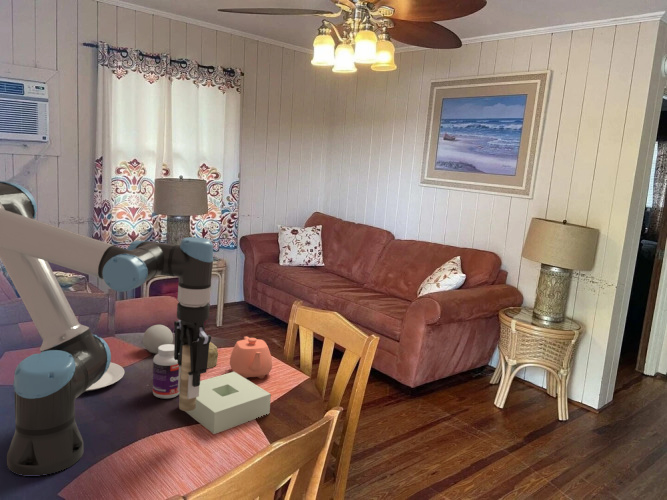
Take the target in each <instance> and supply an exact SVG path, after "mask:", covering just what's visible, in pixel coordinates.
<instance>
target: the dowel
mask: <svg viewBox="0 0 667 500" xmlns="http://www.w3.org/2000/svg"><path fill="white" fill-rule="evenodd" d="M188 372H191V360H190V346H188V344H186V345H183V348H182V365H181V382H180V399H179V402H178V405H179V406H178V409H179V410H180V411H184V412H185V411H191V410H194V409H195V408H196V397H195V398H191V399H188V398H187V394H188V378H189V374H188Z"/></svg>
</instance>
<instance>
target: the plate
mask: <svg viewBox="0 0 667 500" xmlns="http://www.w3.org/2000/svg"><path fill="white" fill-rule="evenodd" d="M124 375H125V369H124V368H123V366H121V365H120V364H117V363H115V362H112V361H111V362H110V365H109V368H108V370H107V371H106V372H105V374H104V375H103V376H102V377H101V379H99V380H98V381H97V382H96V383H94V384H92V385H91V386H90V387H89V388H88V389H87V390H85V391H84V392H89V391H95V390H99V389H102V388H105V387H107V386H110V385H113V384H115V383H116V382H119V381H120V380H121V379H122V378H123V377H124Z"/></svg>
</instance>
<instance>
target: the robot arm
mask: <svg viewBox="0 0 667 500" xmlns="http://www.w3.org/2000/svg"><path fill="white" fill-rule="evenodd" d="M37 212H38V206H37V202H36V199H35V198H34V196H33V194H31V192H30V191H29V190H28V189H26V188H25V187H24V186H22V185H20V184H18V183H15V182H9V181H0V261H1V262H2V264H3V266H4V268H5V270H6V272H7V274H8V276H9V278H10V279H11V281H12V284H13V285H14V287H15V289H16V291H17V293H18V295H19V297H20V299H21V300H22V302H23V304H24V306H25V308H26V310H27V312H28V314H29V316H30V318H31V319H32V321H33V324H34V326H35V327H36V330H37V331H38V333H39V335H40V338H41V339H42V342H41V343H42V344H41V345H40V348H39V351H40V353H33V354H31V355H29V356H27V357H25V358H24V359H22V360H21V361H20V362H19V363H18V364H17V366H16V367H15V370H14V378H13V383H12V384H13V385H12V386H13V391H14V392H13V393H14V417H15V418H14V419H15V421H14V422H15V431H14V435H13V436H12V440H11V442H10V445H9V448H8V450H7V454H6V466H8V467H7V469H8V468H9V469H10V470H11V471H13V472H15V473H17V474H22V475H43V474H50V473H54V472H57V473H59V472H58V471H60V472H62V471H64V469H65V470H67V469H68V468H70V467H72V466H74V465H75V464H76V463H77V462H79V460H81V458H82V457H83V455H84V440H83V437H82V434H81V432H80V430H79V427H78V425H77V422H76V418H75V417H76V403H75V402H76V399H77V398H79V396H81V395H83V393H85V392H86V391H85V390H87V389H88V388H89V387H90V386H91V385H92V384H94V383H96V382H97V381H98V380H99V379H101V377H102V376H103V375H104V374H105V372H106V371H107V370H108V368H109V365H110V362H112V361H111V360H112V354H111V349H110V346H109V345H108V343H107V342H106V341H105V339H103V337H99V336H98V334H93V333H92V331H91V329H90V327H89V326H86V325H83V324H81V323H80V322H79V320H78V319H77V317H76V314H75V313H74V311H73V309H72V306H71V305H70V303H69V301H68V299H67V297H66V294H65V293H64V291H63V289H62V287H61V285H60V283H59V281H58V280H57V278H56V275H55V274H54V271H53V270H52V267H51V265H50V263H51V264H53V265H56V266H61V267H64V268H66V269H69V270H73V271H77V272H79V273H82V274H85V275H88V276H91V277H93V278H94V277H95V278H97V279H101V280H103V282H104V283H105V284H106V285H107V286H108V287H109V288H110V290H113V291H114V292H119V293H121V292H122V293H123V292H128V291H130V290H135V289H136V288H139V287H141V286H142V285H143V284H144V283H146V282H148V281H150V280H152V279H153V278H155V277H157V276H164V277H166V276H167V277H175V278H178V287H177V302H178V303H177V304H176V306H177V307H176V318H177V320H176V321H173V325H174V344H173V345H174V359H175V360H178V365H179V378H178V391H179V392H180V382H181V365H182V348H183V345H186V344H188V346H190V360H191V372H188V374H189V378H188V394H187V398H188V399H191V398H195V397H199V385H200V381H201V375H202V374H206V373H207V371H208V369H207V363H208V352H209V344H210V342H211V340H212V336H211V334H207V333H206V332H205V331H206V329H205V322H206V321H207V320H208V319H209V317H210V309H211V308H210V307H211V305H210V304H209V303H210V301H211V292H212V291H211V290H212V287H211V286H212V276H213V264H214V263H213V262H214V244H213V241H211V240H210V239H208V238H204V237H193V236H191V237H189V236H188V237H184V238H182V239H181V241H180V244H170V243H169V244H168V243H162V242H156V241H155V242H154V241H150V240H143V241H142V240H134V241H132V242H130V244H129V246H128V247H127V248H124V247H120V246H117V245H114V244H113V243H108V242H106V241H105V242H104V241H102V240H99V239H95V238H92V237H90V236H87V235H83V234H80V233H77V232H74V231H70V230H68V229H65V228H62V227H59V226H56V225H52V224H50V223H45V222H44V221H43V222H42V221H40V220H37V219H36V217H37V214H36V213H37ZM178 353H179V354H178ZM66 468H67V469H66ZM9 469H8V470H9ZM10 470H9V471H10ZM61 470H62V471H61ZM11 471H10V472H11ZM54 474H55V473H54ZM50 475H51V474H50Z"/></svg>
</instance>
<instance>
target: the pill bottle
mask: <svg viewBox="0 0 667 500" xmlns="http://www.w3.org/2000/svg"><path fill="white" fill-rule="evenodd" d="M174 345H175V344H174V343H172V344H164V345H161V346H159V347H158V354H155V355H154V357H153V359H152V360H153V361H152V364H153V365H152V366H153V367H152V394H153V396H155V397H156V398H158V399H159V398H160V399H165V400H166V399H167V400H168V399H173V398H176V397H177V396H179V393H180V392H179V391H178V378H179V365H178V360H175V359H174ZM178 354H179V353H178Z"/></svg>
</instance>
